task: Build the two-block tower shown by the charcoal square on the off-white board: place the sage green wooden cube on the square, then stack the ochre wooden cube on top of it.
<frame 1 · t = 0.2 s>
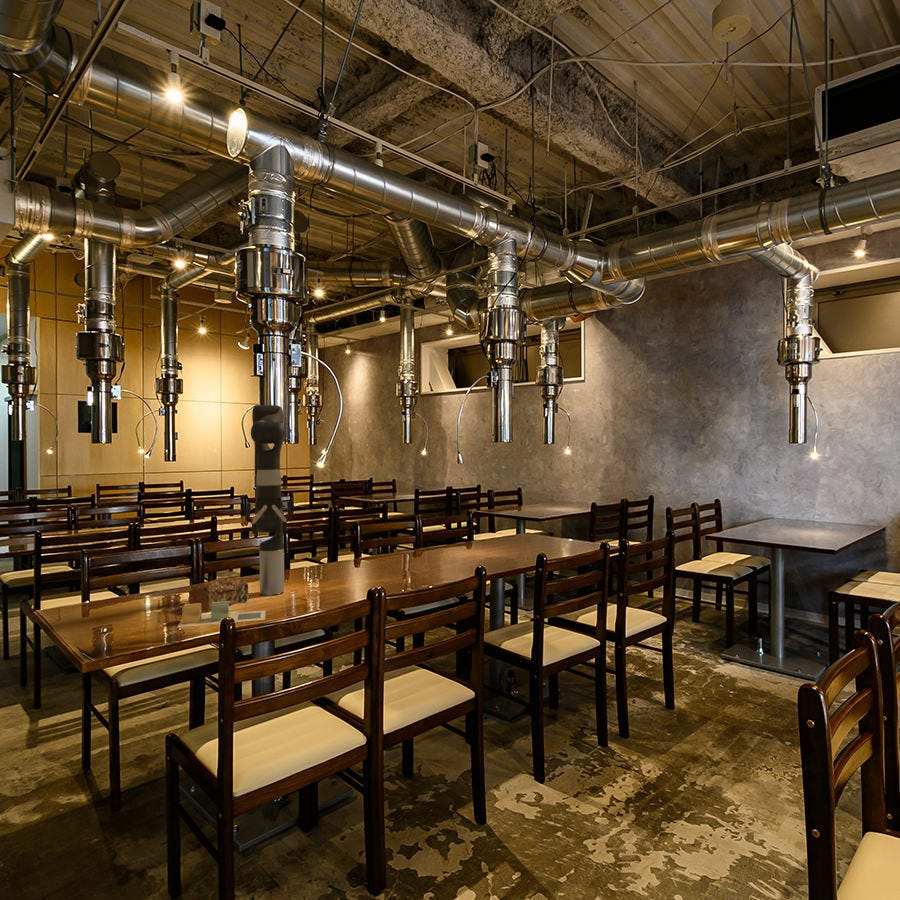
hand: (269, 534, 186), 29 cm above the table, tool pointing down, fingers open, 8 cm apart
ochre block: (192, 621, 186), point 1 cm above the table, touching blueprint board
bread: (219, 608, 207), on the table
green block: (220, 618, 189), point 1 cm above the table, touching blueprint board
blueprint board: (223, 620, 189), on the table
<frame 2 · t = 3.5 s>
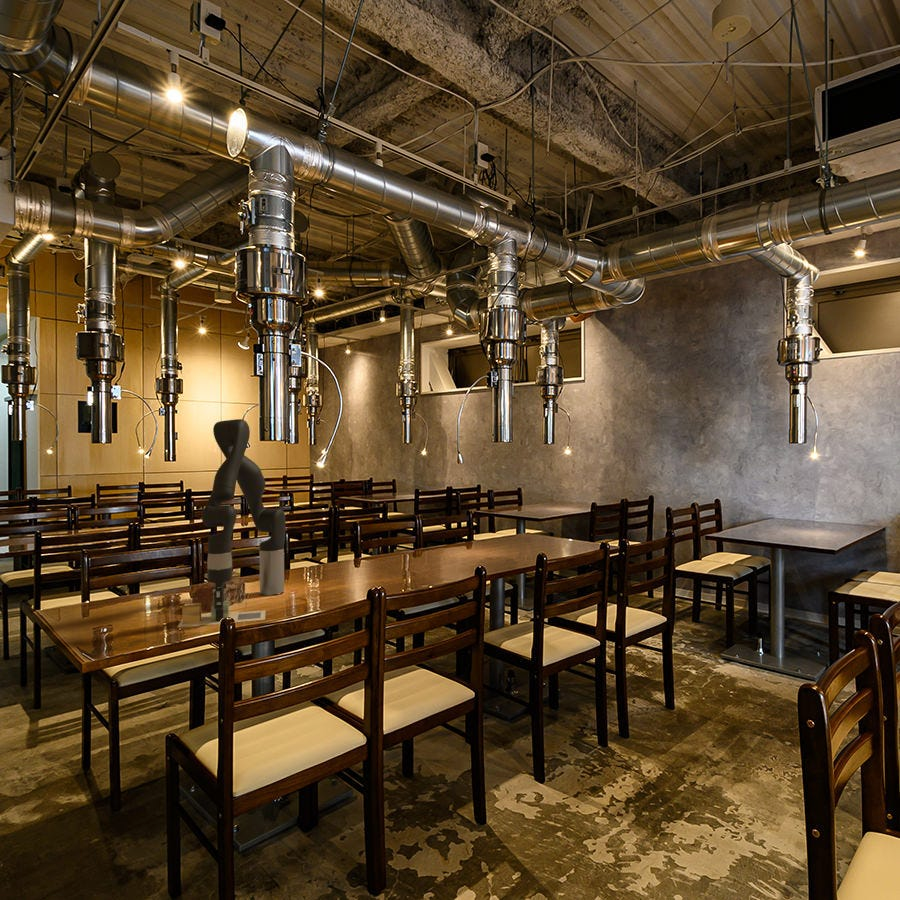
hand: (220, 618, 189), 1 cm above the table, tool pointing down, fingers closed on green block, 5 cm apart
green block: (220, 618, 189), point 1 cm above the table, touching blueprint board, gripper
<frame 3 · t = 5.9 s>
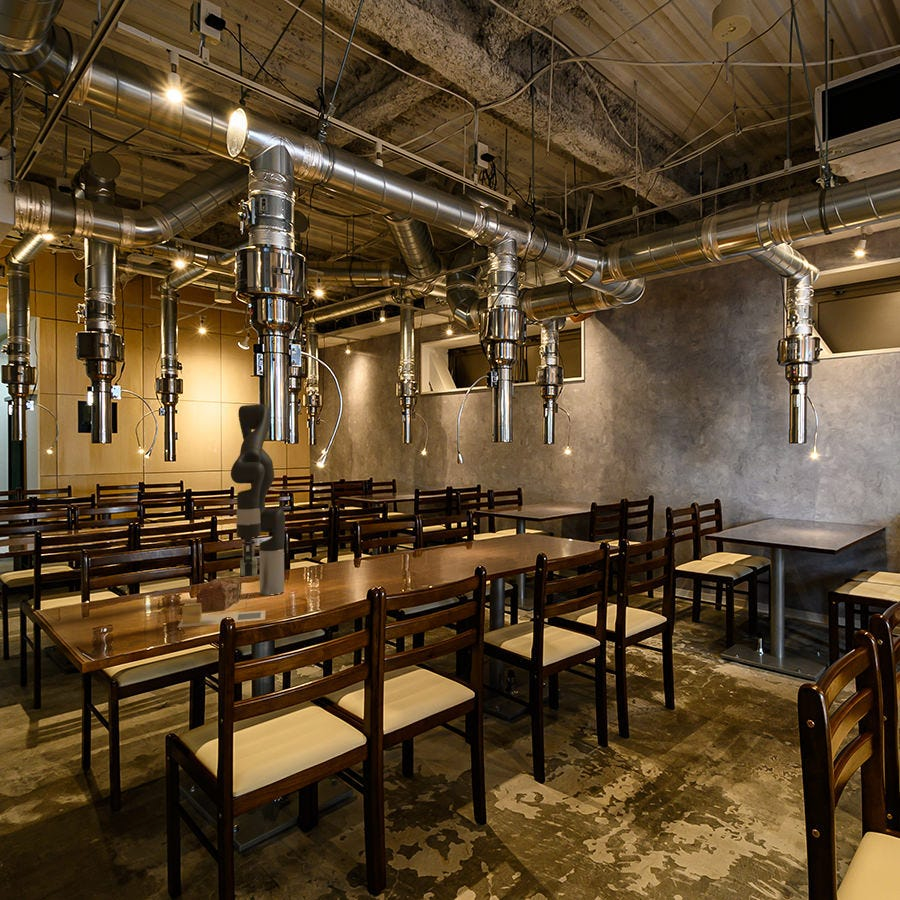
hand: (248, 573, 192), 15 cm above the table, tool pointing down, fingers closed on green block, 5 cm apart
green block: (248, 573, 192), point 15 cm above the table, touching gripper
when the fingers open (2 cm above the table, at t = 8.5 s): green block drops 1 cm, resting on blueprint board.
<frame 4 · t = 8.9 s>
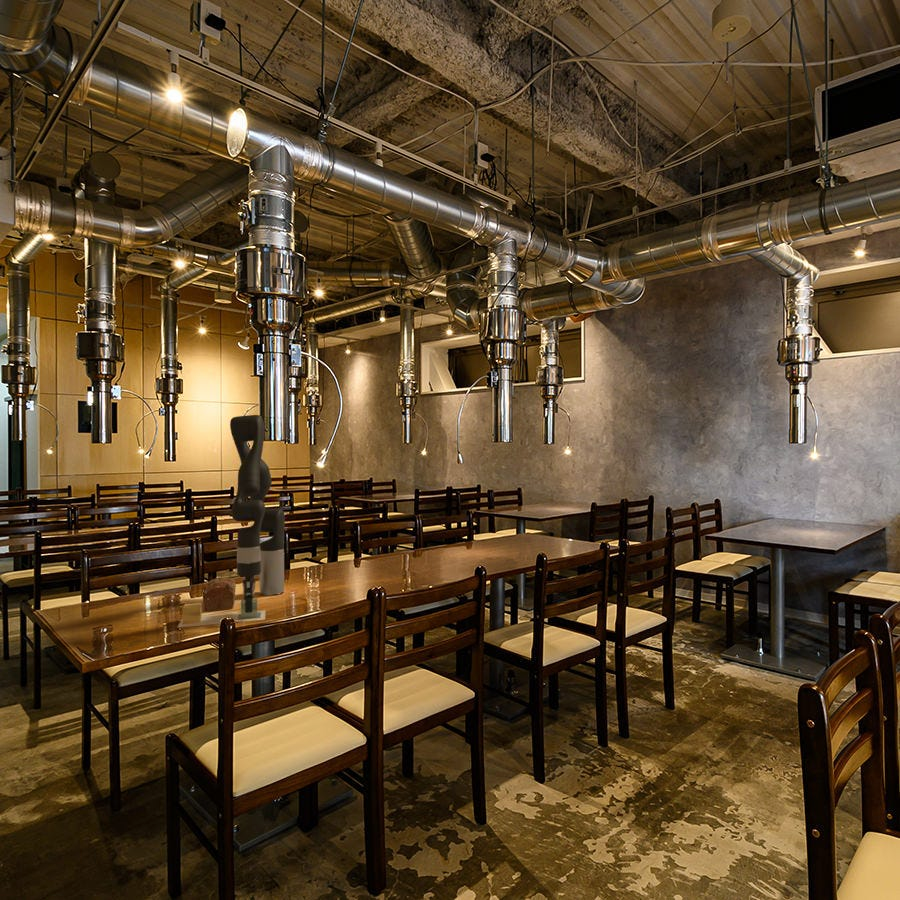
hand: (249, 609, 191), 3 cm above the table, tool pointing down, fingers open, 8 cm apart
green block: (249, 615, 191), point 1 cm above the table, touching blueprint board
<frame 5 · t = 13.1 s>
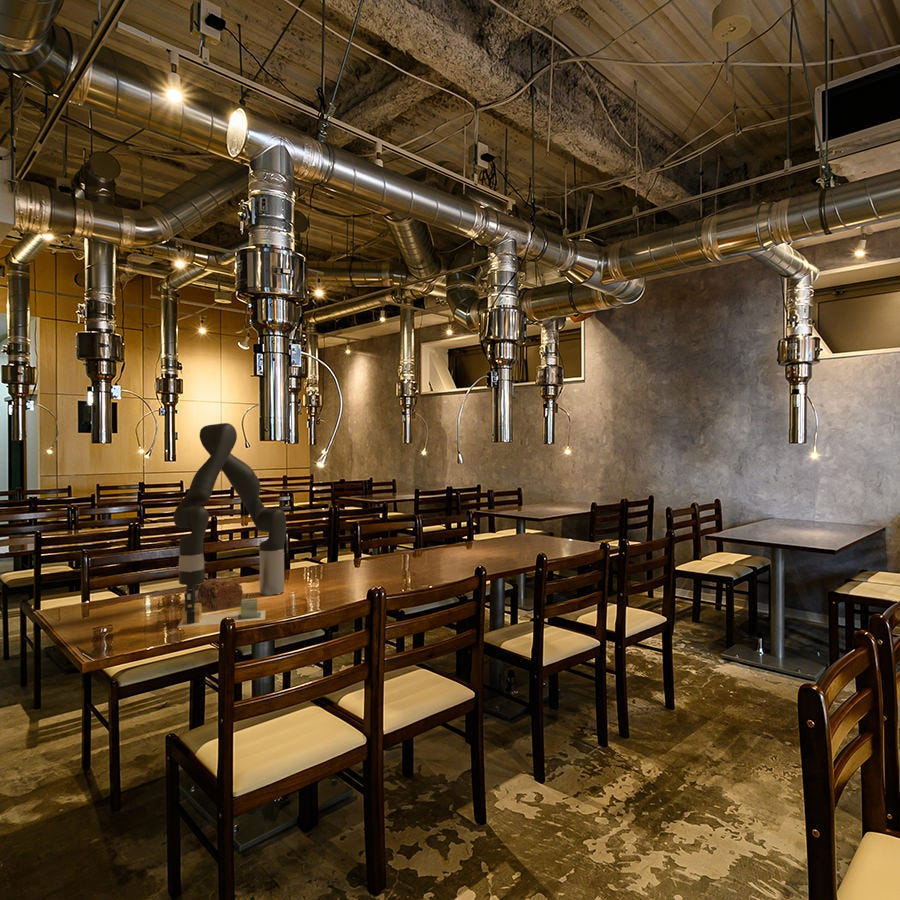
hand: (192, 620, 186), 1 cm above the table, tool pointing down, fingers closed on ochre block, 5 cm apart
ochre block: (192, 621, 186), point 1 cm above the table, touching blueprint board, gripper
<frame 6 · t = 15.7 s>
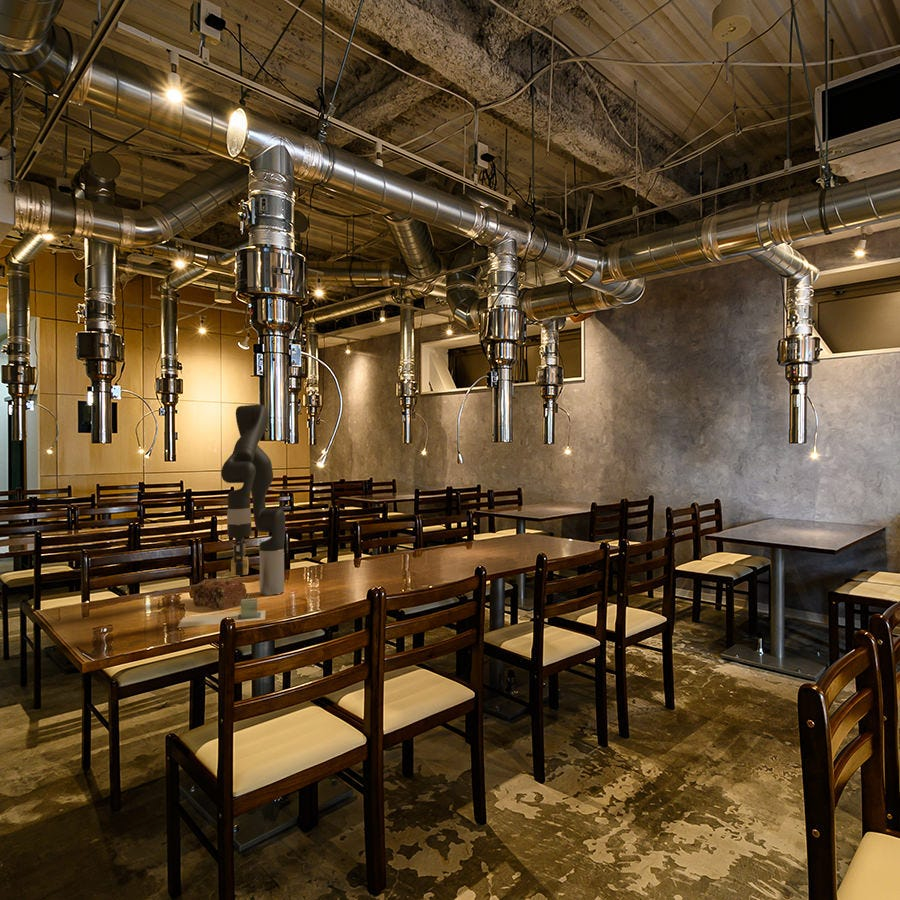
hand: (240, 573, 191), 15 cm above the table, tool pointing down, fingers closed on ochre block, 5 cm apart
ochre block: (239, 573, 191), point 15 cm above the table, touching gripper
when the fingers open (7 cm above the table, at t = 18.5 s): ochre block stays where it is, resting on green block.
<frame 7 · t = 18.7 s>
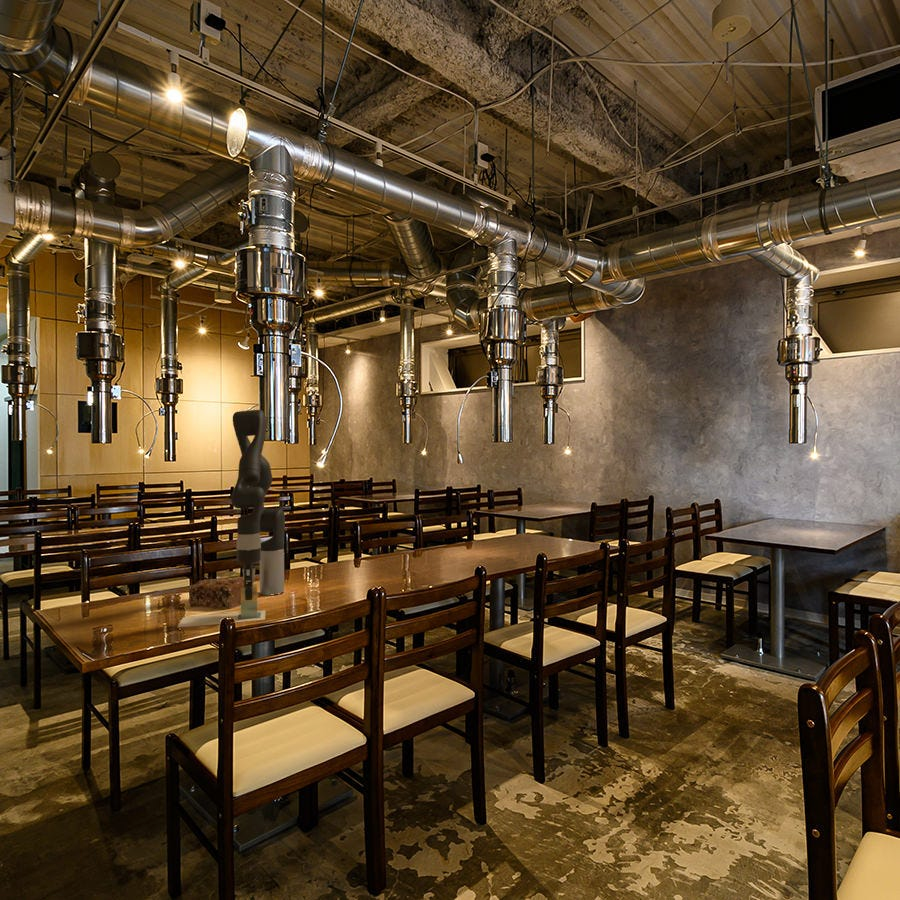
hand: (249, 597, 191), 7 cm above the table, tool pointing down, fingers open, 6 cm apart
ochre block: (249, 600, 191), point 6 cm above the table, touching green block
green block: (249, 615, 191), point 1 cm above the table, touching blueprint board, ochre block
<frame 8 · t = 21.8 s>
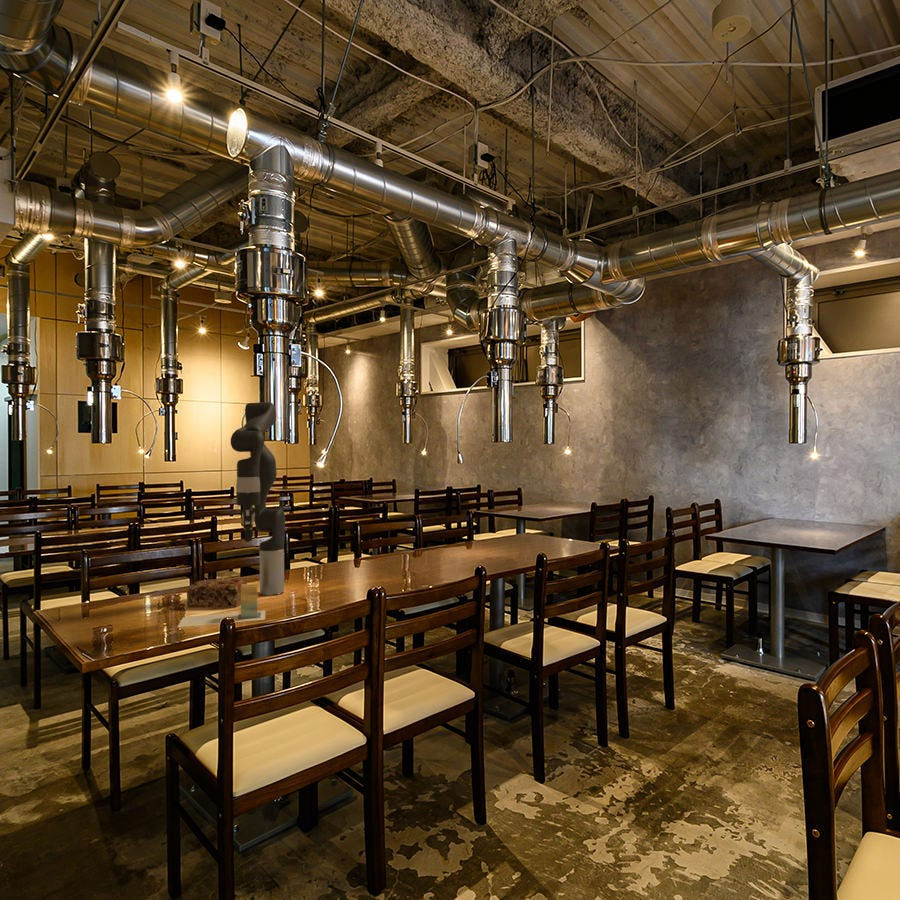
hand: (248, 539, 192), 26 cm above the table, tool pointing down, fingers open, 8 cm apart
at the end: green block 0.1 cm from the target spot on the blueprint board, point 0.9 cm above the blueprint board's base; ochre block 0.0 cm off-centre on the green block, point 5.0 cm above the green block's base; ochre block tilted 0° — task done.
